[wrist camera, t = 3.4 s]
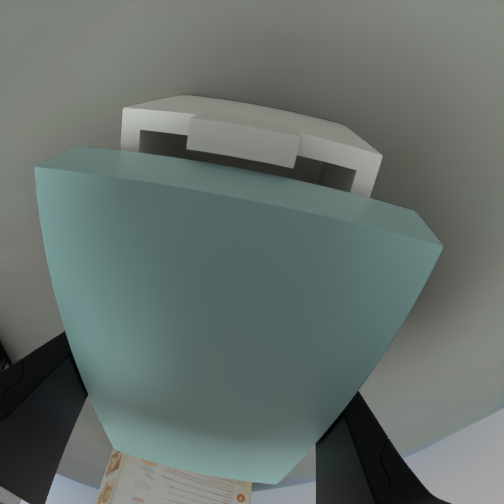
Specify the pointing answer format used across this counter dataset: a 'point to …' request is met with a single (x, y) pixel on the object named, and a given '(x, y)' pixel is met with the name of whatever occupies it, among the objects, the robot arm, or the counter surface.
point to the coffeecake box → (165, 484)
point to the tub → (252, 140)
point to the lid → (222, 302)
